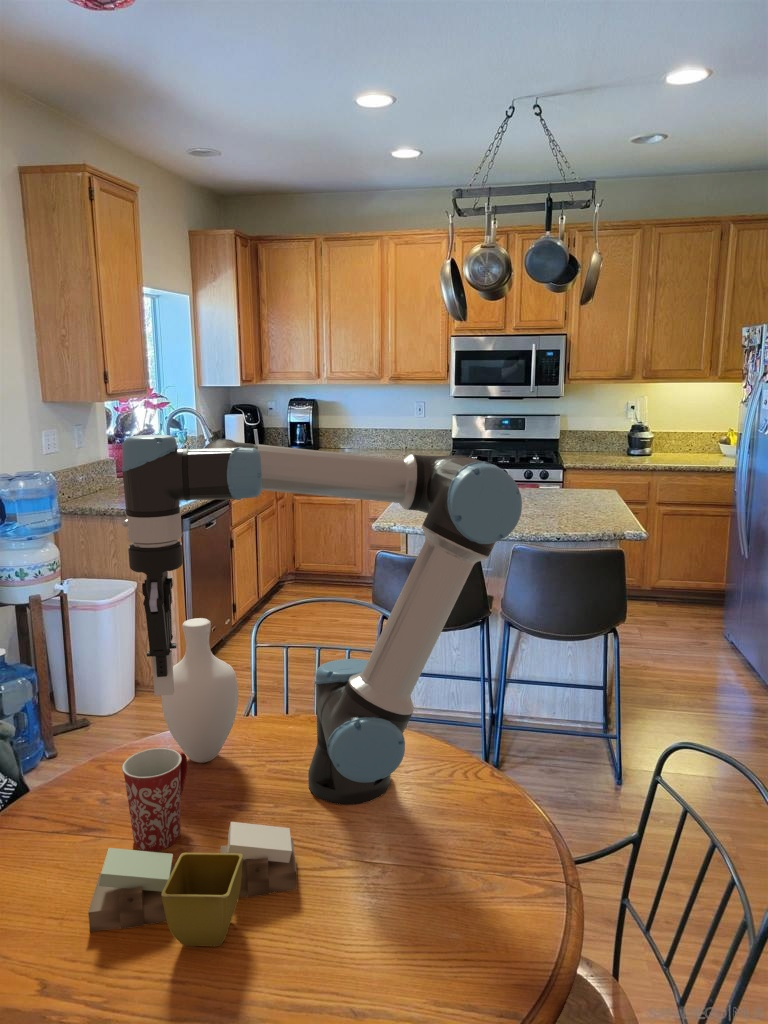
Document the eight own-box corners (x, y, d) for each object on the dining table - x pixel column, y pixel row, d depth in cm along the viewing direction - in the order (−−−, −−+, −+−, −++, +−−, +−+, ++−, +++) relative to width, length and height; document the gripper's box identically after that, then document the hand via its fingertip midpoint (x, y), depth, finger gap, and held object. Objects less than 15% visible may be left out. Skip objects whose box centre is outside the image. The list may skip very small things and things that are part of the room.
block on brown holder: (293, 854, 114) (292, 824, 113) (297, 890, 106) (296, 858, 105) (221, 862, 112) (220, 832, 111) (219, 900, 104) (218, 868, 103)
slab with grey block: (179, 880, 108) (177, 849, 107) (174, 921, 100) (172, 888, 99) (101, 890, 106) (99, 858, 105) (89, 933, 98) (86, 898, 97)
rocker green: (170, 865, 106) (172, 853, 105) (166, 891, 100) (169, 879, 100) (106, 859, 104) (108, 847, 104) (98, 886, 98) (101, 873, 98)
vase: (172, 742, 149) (164, 611, 144) (243, 738, 151) (238, 608, 146) (159, 780, 135) (149, 636, 130) (237, 775, 137) (231, 633, 131)
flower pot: (184, 908, 102) (181, 851, 101) (246, 909, 102) (243, 852, 100) (164, 957, 94) (159, 895, 92) (231, 959, 93) (228, 897, 92)
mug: (162, 861, 112) (156, 781, 110) (115, 848, 116) (109, 770, 113) (210, 816, 124) (206, 743, 121) (166, 805, 127) (162, 733, 125)
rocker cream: (286, 839, 112) (289, 828, 111) (289, 862, 106) (291, 851, 106) (228, 833, 110) (230, 821, 109) (227, 856, 104) (230, 844, 104)
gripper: (134, 533, 112) (144, 677, 116) (120, 553, 99) (132, 714, 103) (185, 531, 113) (193, 674, 117) (177, 550, 100) (186, 710, 105)
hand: (164, 693), depth 110 cm, fingers closed
